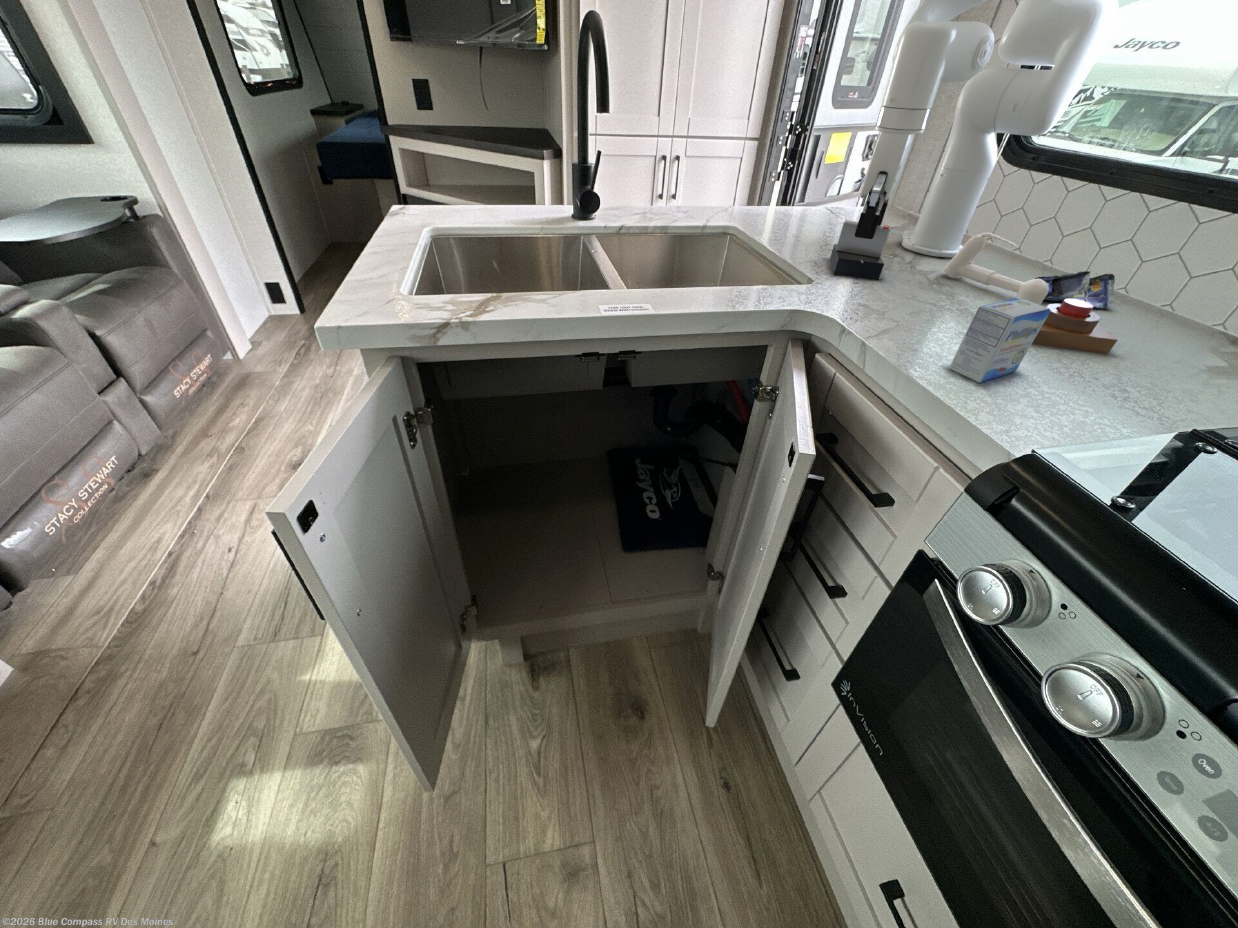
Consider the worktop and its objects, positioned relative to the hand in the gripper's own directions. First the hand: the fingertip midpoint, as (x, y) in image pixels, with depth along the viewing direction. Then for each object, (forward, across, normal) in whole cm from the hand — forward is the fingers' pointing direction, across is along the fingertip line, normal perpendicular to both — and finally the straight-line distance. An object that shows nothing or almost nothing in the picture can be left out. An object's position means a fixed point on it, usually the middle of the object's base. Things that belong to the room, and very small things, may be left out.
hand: (867, 231), depth 95 cm
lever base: (+7, +1, 0) cm, 7 cm away
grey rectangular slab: (+4, +1, 0) cm, 4 cm away
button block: (+7, +16, +32) cm, 36 cm away
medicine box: (+6, +36, +21) cm, 42 cm away
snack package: (+8, -4, +34) cm, 36 cm away
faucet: (+7, -2, +23) cm, 24 cm away
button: (+3, +16, +32) cm, 36 cm away
